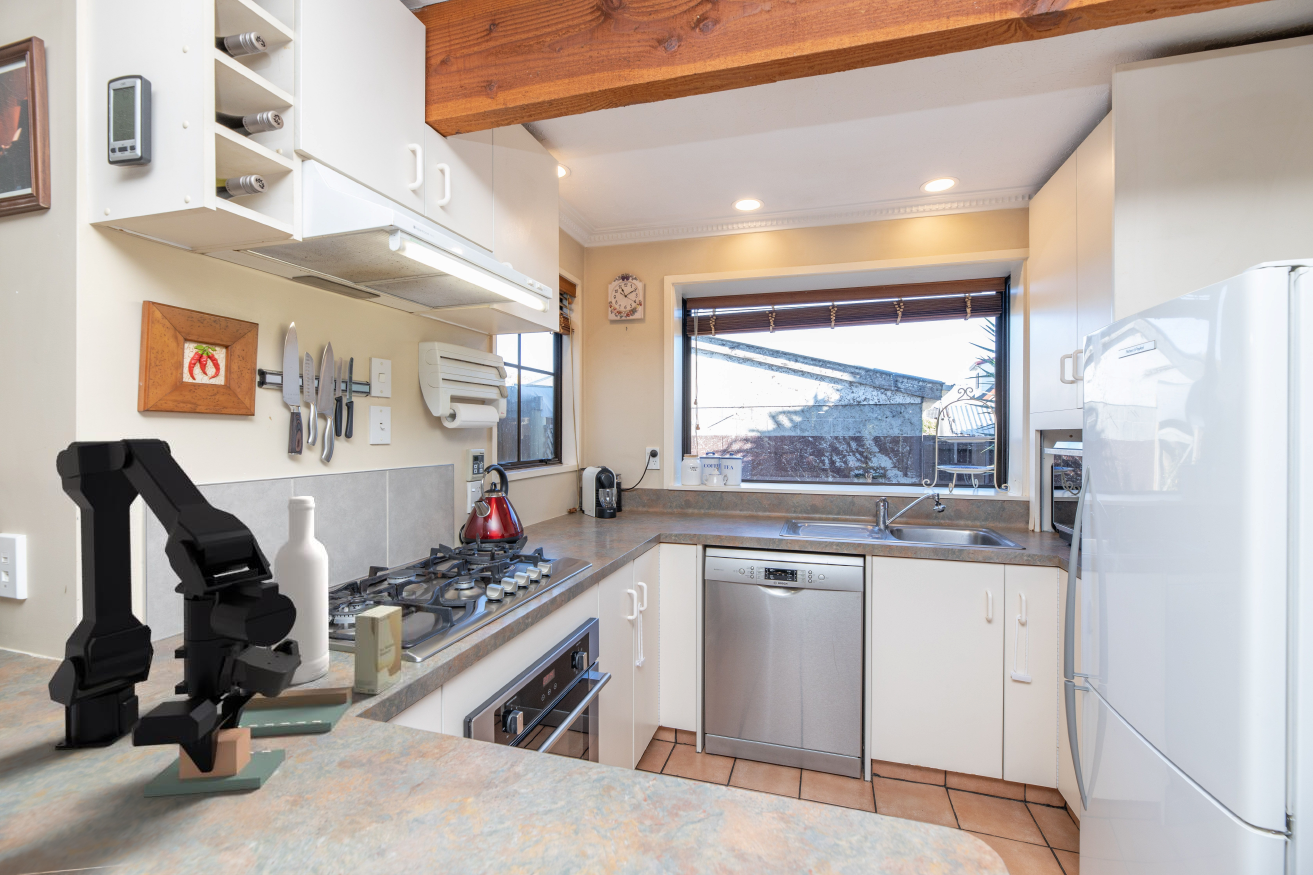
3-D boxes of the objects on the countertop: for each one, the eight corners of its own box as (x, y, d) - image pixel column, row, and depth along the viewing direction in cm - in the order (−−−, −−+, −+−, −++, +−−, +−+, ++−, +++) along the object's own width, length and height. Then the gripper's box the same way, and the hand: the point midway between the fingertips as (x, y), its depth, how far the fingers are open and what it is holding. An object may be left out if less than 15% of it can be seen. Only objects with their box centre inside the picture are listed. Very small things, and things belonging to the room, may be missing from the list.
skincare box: (377, 695, 91) (377, 617, 91) (353, 693, 92) (352, 615, 91) (403, 678, 97) (403, 605, 97) (380, 676, 98) (380, 603, 98)
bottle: (270, 689, 93) (270, 501, 92) (276, 670, 100) (275, 495, 99) (328, 679, 97) (327, 498, 96) (330, 662, 104) (329, 493, 103)
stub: (144, 796, 66) (143, 751, 66) (179, 766, 72) (178, 724, 72) (260, 787, 68) (260, 743, 67) (285, 758, 73) (284, 717, 73)
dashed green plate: (185, 740, 78) (185, 720, 77) (221, 711, 85) (220, 693, 85) (331, 731, 80) (331, 711, 80) (352, 703, 88) (352, 686, 88)
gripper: (247, 660, 61) (248, 808, 61) (321, 605, 79) (321, 719, 80) (126, 666, 59) (128, 818, 59) (230, 608, 77) (231, 725, 78)
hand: (215, 763), depth 69 cm, fingers closed on stub, 3 cm apart
